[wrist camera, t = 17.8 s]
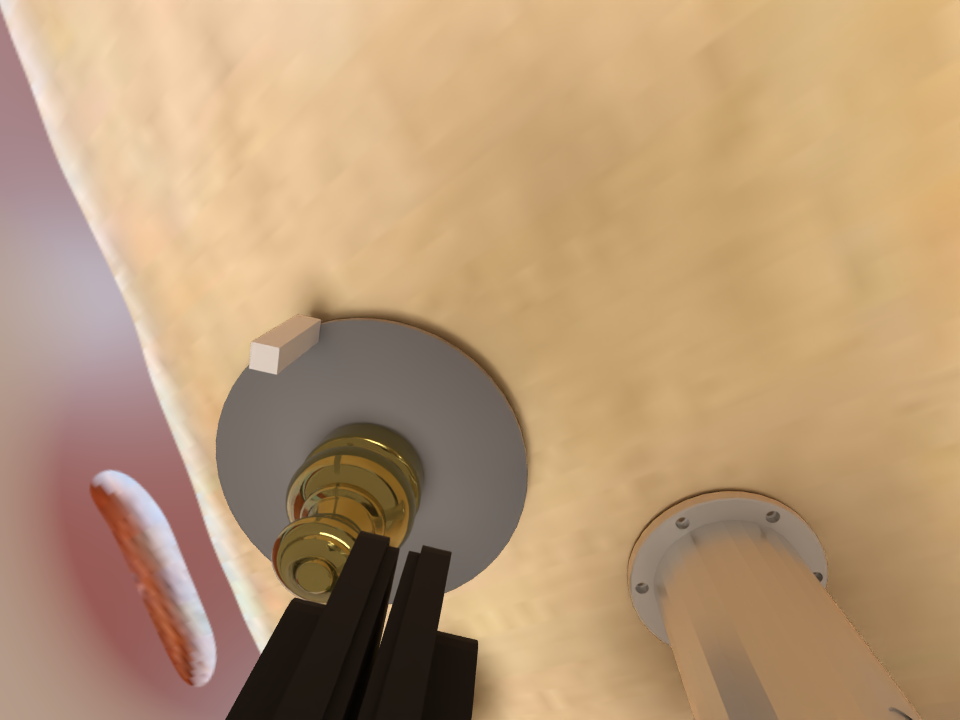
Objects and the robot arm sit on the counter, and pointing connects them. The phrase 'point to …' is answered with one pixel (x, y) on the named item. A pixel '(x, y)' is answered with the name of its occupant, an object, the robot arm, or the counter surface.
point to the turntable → (384, 402)
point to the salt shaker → (345, 505)
